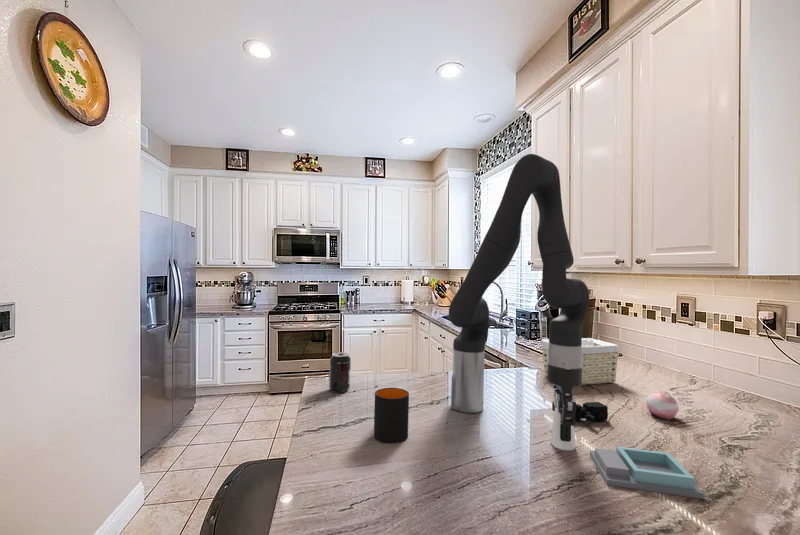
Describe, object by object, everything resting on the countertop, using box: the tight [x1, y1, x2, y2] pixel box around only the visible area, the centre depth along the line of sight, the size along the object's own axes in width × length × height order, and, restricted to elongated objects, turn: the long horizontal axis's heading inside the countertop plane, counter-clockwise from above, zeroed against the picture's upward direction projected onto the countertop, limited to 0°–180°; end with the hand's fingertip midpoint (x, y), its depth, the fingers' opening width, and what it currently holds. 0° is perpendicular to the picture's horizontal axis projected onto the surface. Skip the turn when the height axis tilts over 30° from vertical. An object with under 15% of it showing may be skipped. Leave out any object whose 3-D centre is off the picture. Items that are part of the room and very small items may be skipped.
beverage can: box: [328, 351, 352, 394], centre depth 121 cm, size 7×7×12 cm
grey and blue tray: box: [589, 446, 705, 500], centre depth 74 cm, size 16×12×3 cm
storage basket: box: [540, 337, 620, 386], centre depth 142 cm, size 24×16×15 cm
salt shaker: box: [550, 408, 576, 452], centre depth 86 cm, size 5×5×11 cm
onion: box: [645, 391, 679, 420], centre depth 105 cm, size 8×8×7 cm
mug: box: [373, 387, 410, 445], centre depth 90 cm, size 8×12×10 cm
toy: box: [551, 400, 609, 424], centre depth 101 cm, size 12×5×15 cm
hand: (563, 435), depth 86 cm, fingers closed on salt shaker, 4 cm apart
